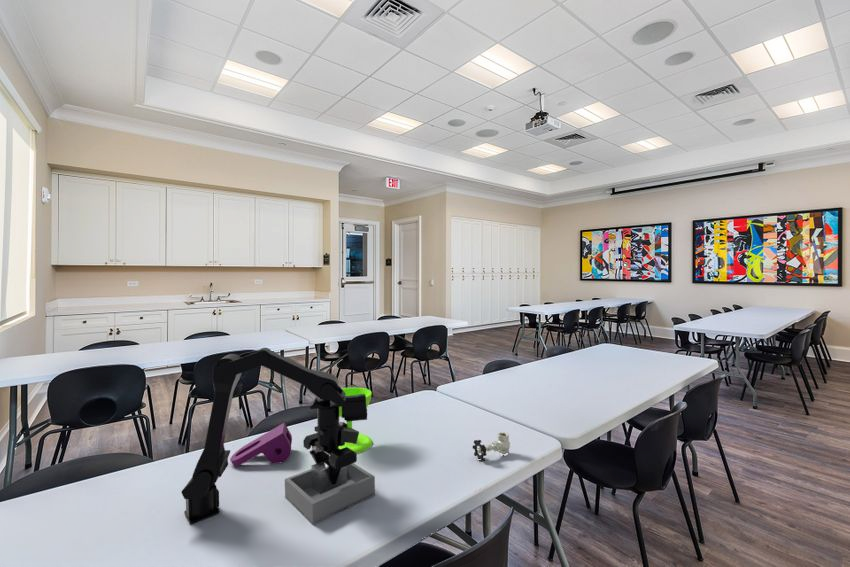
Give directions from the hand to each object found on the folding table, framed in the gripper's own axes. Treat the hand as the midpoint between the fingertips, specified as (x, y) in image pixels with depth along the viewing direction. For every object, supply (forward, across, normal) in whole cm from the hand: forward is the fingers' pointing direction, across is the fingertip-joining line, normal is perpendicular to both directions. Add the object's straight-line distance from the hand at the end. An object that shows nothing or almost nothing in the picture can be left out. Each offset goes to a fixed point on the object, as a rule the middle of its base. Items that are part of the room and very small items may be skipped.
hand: (329, 480), depth 103 cm
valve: (+4, -17, -50) cm, 53 cm away
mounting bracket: (+5, +35, +5) cm, 36 cm away
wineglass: (+4, +24, -21) cm, 32 cm away
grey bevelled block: (+1, 0, 0) cm, 1 cm away
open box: (+4, 0, 0) cm, 4 cm away
